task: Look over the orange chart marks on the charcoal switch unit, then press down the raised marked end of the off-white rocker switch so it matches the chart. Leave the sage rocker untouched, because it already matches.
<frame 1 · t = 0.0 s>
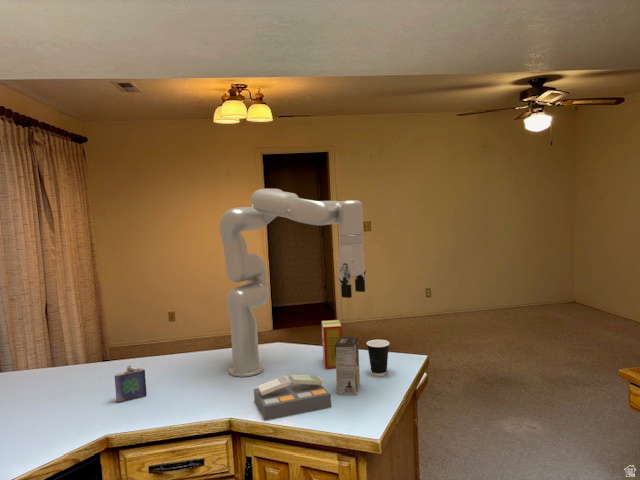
hand: (353, 294, 148), 31 cm above the kitchen counter, tool pointing down, fingers open, 9 cm apart
coffee box: (348, 389, 152), on the kitchen counter
baking soda box: (333, 365, 176), on the kitchen counter
rocker offwhite: (273, 385, 141), point 7 cm above the kitchen counter, hinge at 12.0°
switch unit: (291, 404, 142), on the kitchen counter
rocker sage: (305, 379, 145), point 7 cm above the kitchen counter, hinge at -12.0°
flask: (131, 399, 152), on the kitchen counter
dixie cup: (379, 374, 165), on the kitchen counter
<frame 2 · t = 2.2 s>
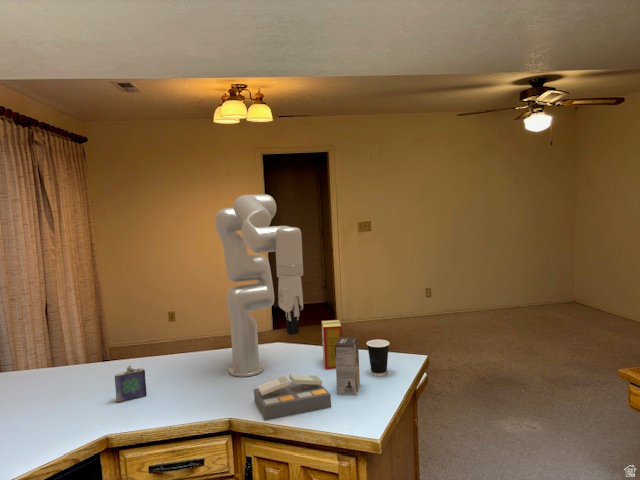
hand: (293, 333, 136), 23 cm above the kitchen counter, tool pointing down, fingers closed
nothing on the kitchen counter moved.
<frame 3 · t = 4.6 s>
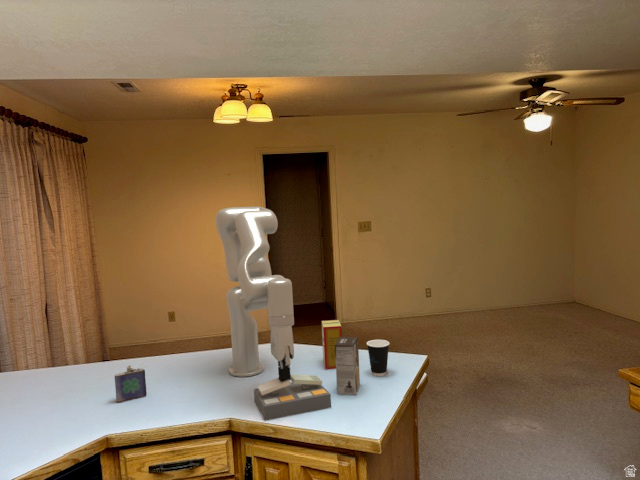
hand: (284, 379, 142), 8 cm above the kitchen counter, tool pointing down, fingers closed
rocker offwhite: (273, 385, 141), point 7 cm above the kitchen counter, hinge at 11.0°, touching gripper
everything else where it was.
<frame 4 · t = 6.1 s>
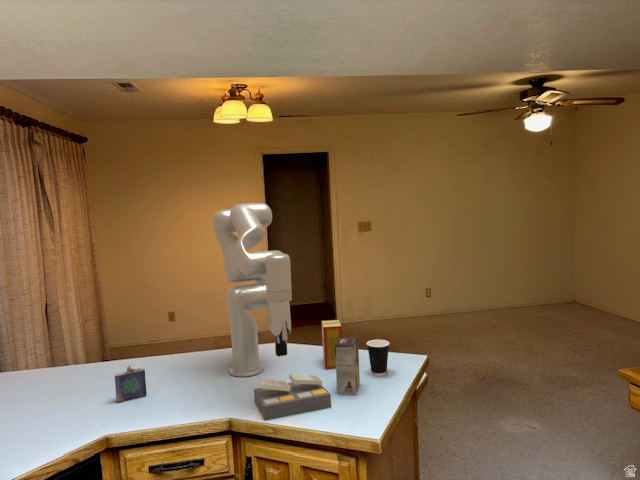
hand: (281, 354, 142), 15 cm above the kitchen counter, tool pointing down, fingers closed
rocker offwhite: (274, 384, 141), point 7 cm above the kitchen counter, hinge at -15.3°
everything else where it was.
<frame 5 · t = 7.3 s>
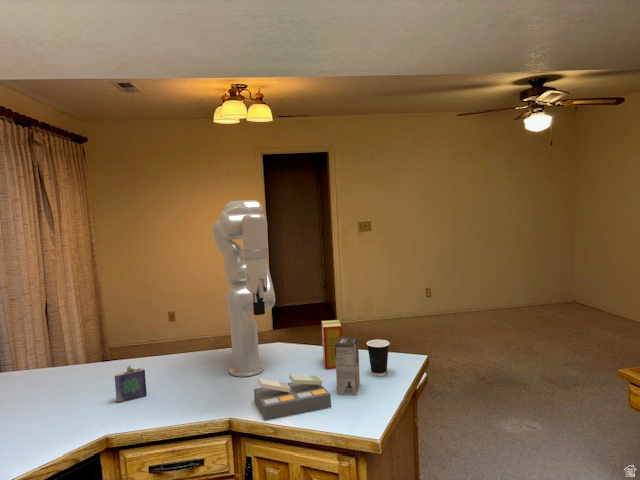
hand: (259, 314, 145), 27 cm above the kitchen counter, tool pointing down, fingers closed
rocker offwhite: (274, 384, 141), point 7 cm above the kitchen counter, hinge at -19.3°
everything else where it was.
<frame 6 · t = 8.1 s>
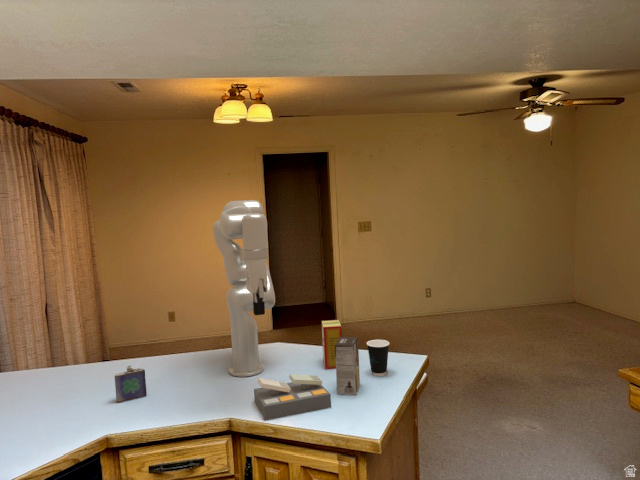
hand: (259, 314, 145), 27 cm above the kitchen counter, tool pointing down, fingers closed
rocker offwhite: (274, 384, 141), point 7 cm above the kitchen counter, hinge at -20.2°
everything else where it was.
at the end: rocker offwhite at -20° (first picture: +12°); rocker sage at -12° (first picture: -12°) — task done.
